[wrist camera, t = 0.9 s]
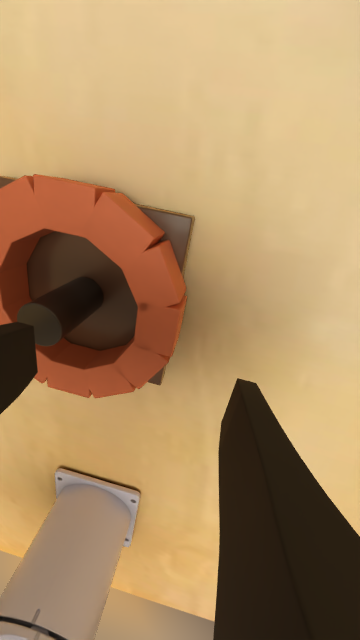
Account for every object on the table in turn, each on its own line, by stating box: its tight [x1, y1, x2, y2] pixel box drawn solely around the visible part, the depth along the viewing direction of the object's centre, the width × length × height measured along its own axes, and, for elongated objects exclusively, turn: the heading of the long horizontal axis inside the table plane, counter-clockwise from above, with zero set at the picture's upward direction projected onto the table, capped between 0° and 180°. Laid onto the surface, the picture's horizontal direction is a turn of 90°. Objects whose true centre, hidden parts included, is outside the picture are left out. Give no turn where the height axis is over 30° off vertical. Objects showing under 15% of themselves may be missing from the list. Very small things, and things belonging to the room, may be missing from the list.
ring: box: [0, 174, 187, 398], centre depth 13 cm, size 11×11×2 cm
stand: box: [0, 176, 195, 385], centre depth 13 cm, size 10×10×5 cm
